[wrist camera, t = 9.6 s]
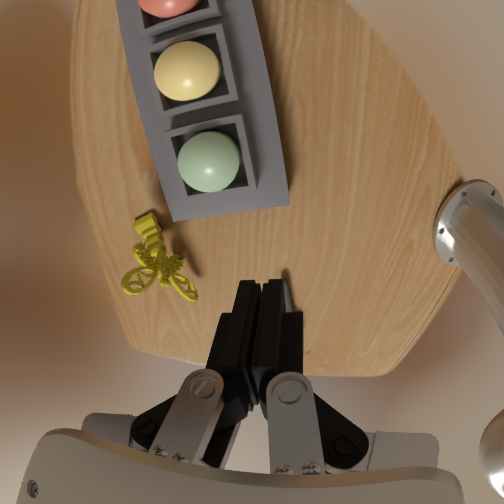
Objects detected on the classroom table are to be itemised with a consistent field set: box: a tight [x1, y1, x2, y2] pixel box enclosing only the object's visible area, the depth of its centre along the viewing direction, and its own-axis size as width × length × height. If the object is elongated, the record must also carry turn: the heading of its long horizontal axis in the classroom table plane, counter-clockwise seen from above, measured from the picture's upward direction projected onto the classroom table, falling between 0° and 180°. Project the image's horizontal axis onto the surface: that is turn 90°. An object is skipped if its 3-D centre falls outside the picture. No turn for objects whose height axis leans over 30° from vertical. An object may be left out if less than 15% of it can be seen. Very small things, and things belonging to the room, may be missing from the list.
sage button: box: [178, 129, 241, 192], centre depth 22 cm, size 5×5×2 cm
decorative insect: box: [121, 212, 198, 301], centre depth 31 cm, size 13×3×10 cm
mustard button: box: [154, 41, 223, 101], centre depth 18 cm, size 5×5×2 cm
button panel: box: [116, 0, 290, 222], centre depth 20 cm, size 12×28×5 cm, turn 11°
